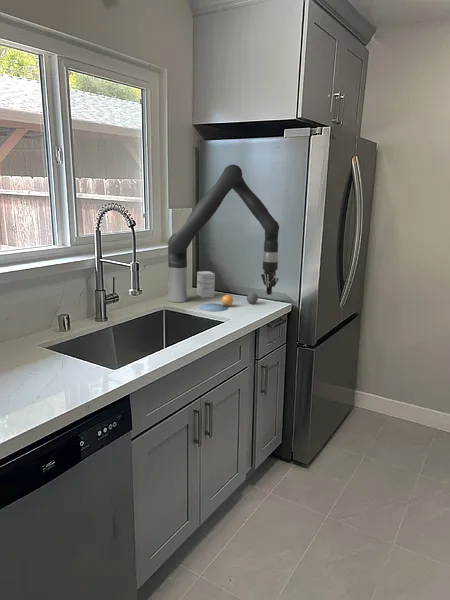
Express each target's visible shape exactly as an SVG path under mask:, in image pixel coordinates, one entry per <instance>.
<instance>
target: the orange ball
mask: <svg viewBox="0 0 450 600" xmlns="http://www.w3.org/2000/svg"><path fill="white" fill-rule="evenodd" d="M233 301H234V298H233V296H231V295H229V294H226V295H223V296H222V298H221V304H222V305H224V306H227V307H230V306H232V305H233V303H234V302H233Z"/></svg>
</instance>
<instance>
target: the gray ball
mask: <svg viewBox="0 0 450 600" xmlns="http://www.w3.org/2000/svg"><path fill="white" fill-rule="evenodd" d="M258 298H259V297H258V294H256V293H255V292H249V293H248V294H247V296H246V301H247V302H248V303H249V304H251V305H253V304H256V303H257V302H258Z"/></svg>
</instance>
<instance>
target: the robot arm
mask: <svg viewBox="0 0 450 600" xmlns="http://www.w3.org/2000/svg"><path fill="white" fill-rule="evenodd" d="M231 190H233V191H234V192H236V194H237V195H238V196H239V198H240V199H241V201H243V203H244V204H245V206H246V207H247V208H248V210H249V211H250V212H251V214H252V215H253V216H254V218H256V220H257V221H258V223H259V224H260V226H261V228H262V229H263V230H264V242H263V255H262V270H263V274H261V279H262V282H263V285H264V286H265V288H266V294H267V295H272V294H273V292H272V290H273V288H274V287H275V286H276V284H277V283H278V281H279V277H277V276H276V275H277V273H276V271H277V270H278V269H279V268H278V267H279V266H278V265H279V230H280V224H279V222H278V220H275V218H274V217H273V215H272V214H271V213H270V212H269V210H268V208H267V207H266V205H265V204H264V202H263V201H262V200H261V199H260V198H259V197H258V196H257V195H256V193H254V192H253V191H252V189H251V188H250V187H249V185H247V183H246V181H245V179H244V177H243V171H242V169H241V167H240V166H238V164H228V165H227V166H226V167H225V168H224V169H223V172H222V173H221V174H220V176H219V178H218V180H217V181H216V182H215V184H214V185H213V186H212V187H211V188H210V189H209V190H208V191H207V192H206V193H205V194H204V195H203V197H201V199H200V200H199V201H198V202H197V204H196V205H195V206H194V208H193V209H192V211H191V212H190V214H189V216H188V218H187V220H186V221H185V223H184V225H183V226H182V227H181V228H180V229H179V230H178V232H177V233H174V234H171V236H170V237H169V239H168V242H167V263H168V266H167V268H168V271H167V272H168V280H167V281H168V282H167V283H168V285H167V286H168V287H167V288H168V290H167V294H168V296H167V298H168V301H167V302H169V303H170V302H172V303H184V302H187V300H188V297H187V296H188V295H187V294H188V257H187V253H188V251H187V250H188V247H189V246H190V245H191V243H192V242H193V240H194V238H195V237H196V236H197V234H198V233H199V232H200V231H201V230H202V228H204V226H205V225H206V224H207V223H208V222H209V221H210V220H211V219H212V217H213V216H214V215H215V213H216V212H217V210H218V209H219V208H220V206H221V204H222V203H223V201H224V199H225V198H226V196H227V195H228V194H229V193H230V191H231Z"/></svg>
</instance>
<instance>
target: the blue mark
mask: <svg viewBox="0 0 450 600" xmlns="http://www.w3.org/2000/svg"><path fill="white" fill-rule="evenodd" d="M198 309H199V310H201V309H202V310H201V311H205V310H206V312H224V311H226V310H229V306H224V305H223V304H222V303H203V304H201V305H199V306H198Z"/></svg>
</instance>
